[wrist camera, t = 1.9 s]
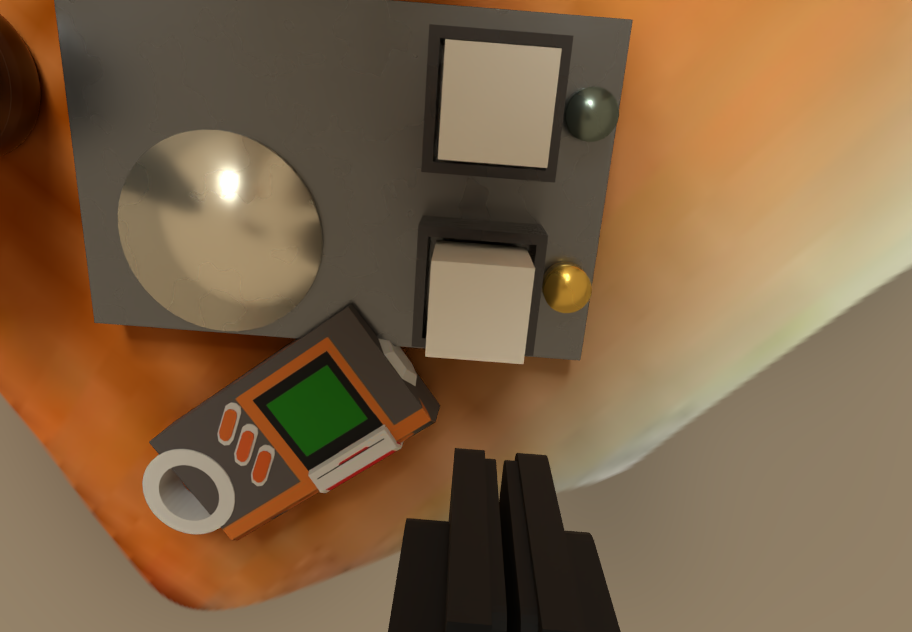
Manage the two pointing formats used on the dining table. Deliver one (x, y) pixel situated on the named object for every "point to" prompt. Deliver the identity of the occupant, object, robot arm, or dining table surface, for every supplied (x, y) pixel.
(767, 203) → the dining table surface
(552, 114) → the block
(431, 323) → the white cube
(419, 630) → the robot arm
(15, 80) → the supplement bottle
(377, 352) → the electronic device
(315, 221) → the breaker board
